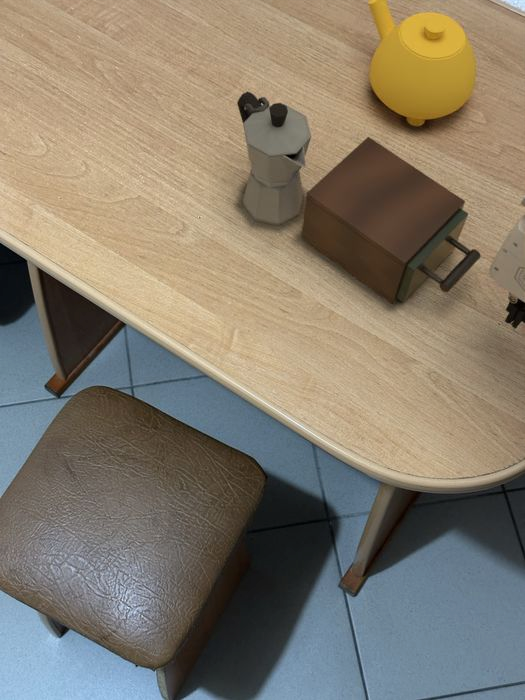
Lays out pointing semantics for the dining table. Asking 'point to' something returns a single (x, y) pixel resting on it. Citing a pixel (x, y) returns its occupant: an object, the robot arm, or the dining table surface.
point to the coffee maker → (273, 158)
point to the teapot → (421, 64)
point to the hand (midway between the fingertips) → (516, 317)
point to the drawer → (438, 259)
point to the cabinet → (376, 215)
